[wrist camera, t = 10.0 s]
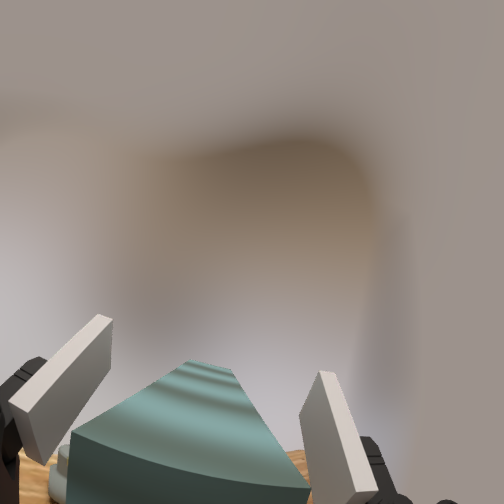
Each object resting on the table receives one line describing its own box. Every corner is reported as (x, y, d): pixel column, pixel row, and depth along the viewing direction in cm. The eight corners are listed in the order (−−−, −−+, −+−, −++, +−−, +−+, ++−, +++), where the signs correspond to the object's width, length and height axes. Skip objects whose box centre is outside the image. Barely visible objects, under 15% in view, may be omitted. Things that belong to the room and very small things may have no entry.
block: (267, 593, 3) (311, 488, 4) (66, 547, 3) (71, 431, 4) (223, 398, 28) (230, 369, 29) (183, 388, 28) (190, 359, 28)
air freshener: (50, 477, 33) (53, 432, 36) (94, 488, 37) (99, 444, 40) (48, 511, 24) (49, 461, 27) (101, 522, 28) (106, 475, 31)
